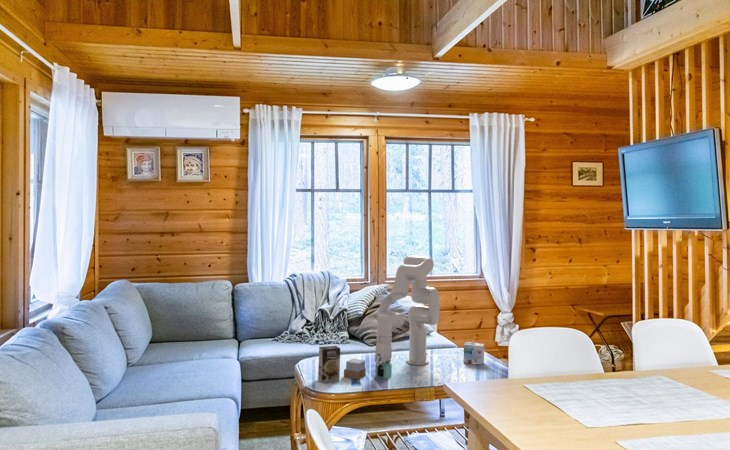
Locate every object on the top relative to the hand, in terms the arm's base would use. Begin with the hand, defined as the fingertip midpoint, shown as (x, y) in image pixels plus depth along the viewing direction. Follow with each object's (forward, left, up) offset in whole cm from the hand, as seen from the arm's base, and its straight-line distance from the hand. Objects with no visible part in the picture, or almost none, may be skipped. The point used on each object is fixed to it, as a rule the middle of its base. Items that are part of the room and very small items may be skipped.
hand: (383, 374), depth 246 cm
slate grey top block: (+8, -12, +3) cm, 14 cm away
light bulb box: (-51, +31, -1) cm, 60 cm away
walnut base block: (+8, -12, -1) cm, 15 cm away
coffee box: (+21, -19, -1) cm, 28 cm away
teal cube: (0, 0, -1) cm, 1 cm away
